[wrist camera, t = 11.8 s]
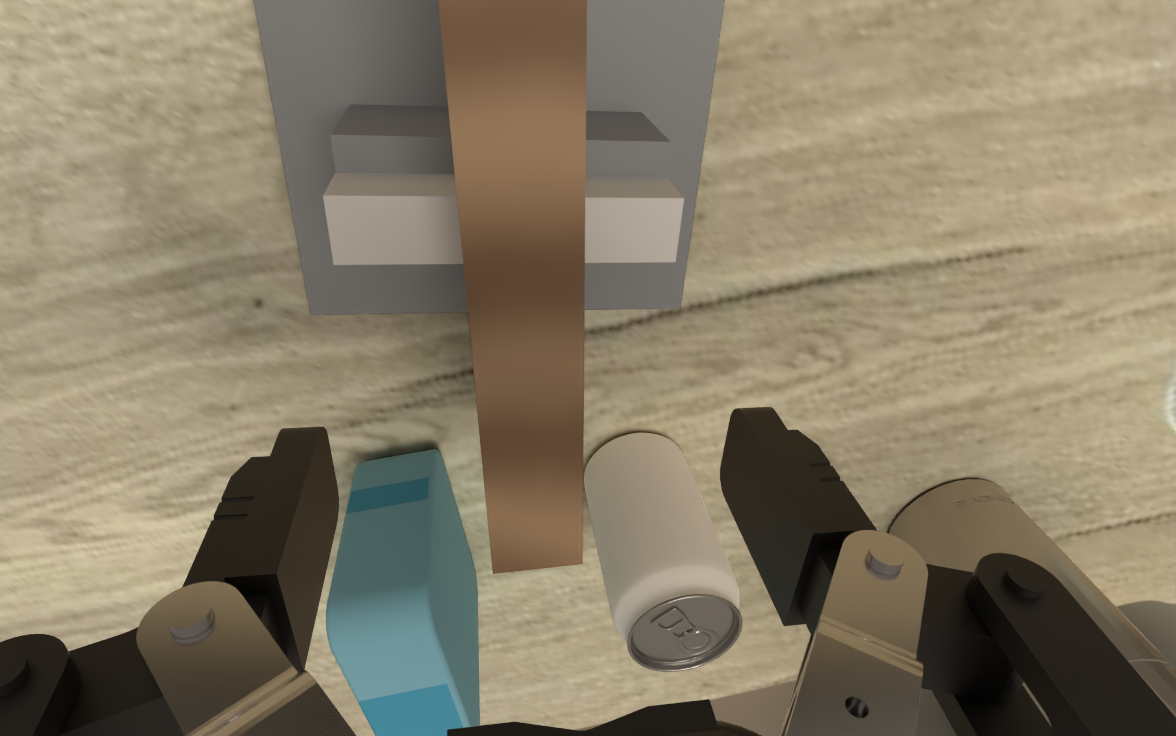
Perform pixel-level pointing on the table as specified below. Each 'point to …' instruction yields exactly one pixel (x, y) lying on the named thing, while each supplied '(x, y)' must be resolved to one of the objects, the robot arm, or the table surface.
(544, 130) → the walnut bar
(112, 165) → the table surface
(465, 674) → the data package
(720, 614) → the can
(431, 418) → the table surface
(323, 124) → the stand
